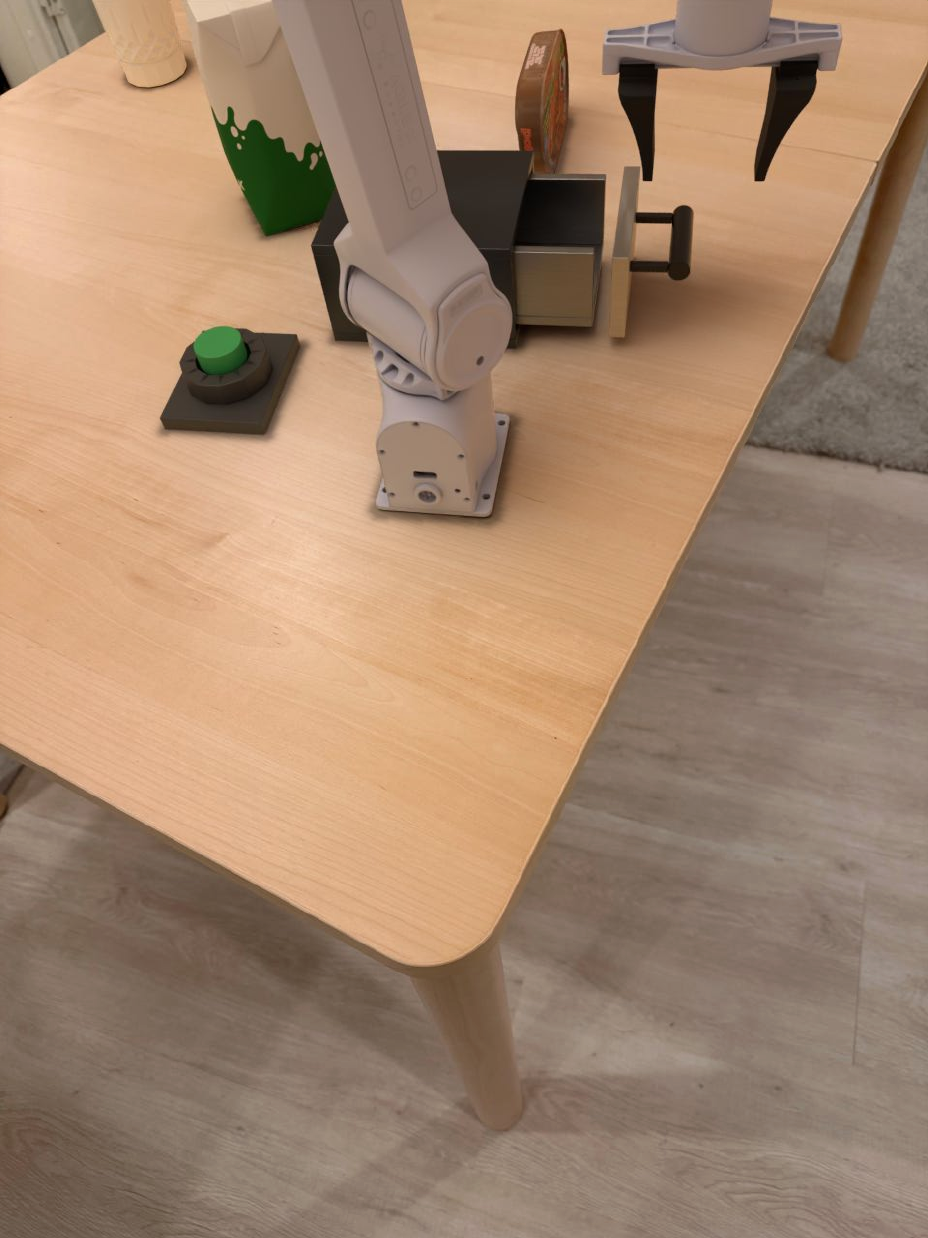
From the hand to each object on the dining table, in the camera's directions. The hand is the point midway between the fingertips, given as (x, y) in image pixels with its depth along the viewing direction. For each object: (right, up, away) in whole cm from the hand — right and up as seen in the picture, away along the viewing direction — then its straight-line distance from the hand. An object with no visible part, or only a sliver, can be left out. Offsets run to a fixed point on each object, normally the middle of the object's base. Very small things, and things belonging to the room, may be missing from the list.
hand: (703, 173), depth 66 cm
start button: (-35, -12, +4) cm, 37 cm away
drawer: (-8, -5, +8) cm, 13 cm away
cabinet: (-19, -5, +10) cm, 22 cm away
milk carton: (-33, +6, +20) cm, 39 cm away
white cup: (-51, +29, +37) cm, 70 cm away
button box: (-35, -14, +6) cm, 38 cm away
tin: (-9, +13, +21) cm, 27 cm away
